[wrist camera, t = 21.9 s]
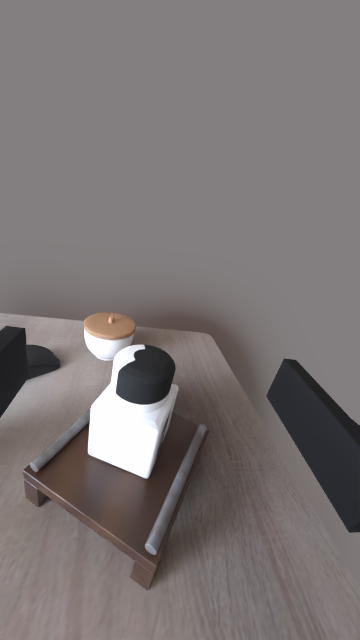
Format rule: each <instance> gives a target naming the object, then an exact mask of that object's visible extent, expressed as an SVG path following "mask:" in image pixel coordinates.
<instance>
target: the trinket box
mask: <svg viewBox="0 0 360 640" xmlns="http://www.w3.org/2000/svg"><path fill="white" fill-rule="evenodd" d="M135 328H136V325H135V323H134V321H133V320H132V319H130V318H129V317H126V316H124V315H121V314H117V313H109V312H108V313H96V314H93V315H90V316H89V317H87V318H86V319H85V321H84V336H85V342H86V345H87V347H88V349H89V350H90V351H91V352H92V353H93V354H94V355H95V356H96V357H97V358H99V359H101V360H106V361H110V360H114V358H115V356H116V355H117V353H118V352H120V351H121V350H122V349H124V348H126V347H128V346H131V344H132V341H133V337H134V332H135Z"/></svg>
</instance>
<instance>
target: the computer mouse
mask: <svg viewBox="0 0 360 640" xmlns="http://www.w3.org/2000/svg"><path fill="white" fill-rule="evenodd" d="M26 346H27V359H28V372H29V377H28V379H31V378H34V377H37V376H39V375H42V374H45V373H48V372H51V371H54V370H57V369H58V368H59V367H60V361H59V359H58V358H57V357H56V356H55V355H54V354H53V353H52V352H51V351H50V350H49V349H47V348H44V347H42V346H37V345H26ZM28 379H27V380H28Z"/></svg>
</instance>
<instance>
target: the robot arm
mask: <svg viewBox="0 0 360 640" xmlns="http://www.w3.org/2000/svg"><path fill="white" fill-rule="evenodd" d="M28 377H29V372H28V359H27V346H26V333H25V328H18V327H10V326H6V327H4V328H3V329H2V330H1V331H0V417H1V416H2V414H3V413H4V412H5V410H6V409H7V407H8V406H9V404H10V403H11V402H12V400H13V399H14V397H15V396H16V394H17V393H18V391H19V390H20V389H21V387H22V386H23V384H24V383H25V381H26V380H27V379H28ZM266 396H267V398H268V400H269V401H270V403H271V404H272V406H273V408H274V409H275V411H276V413H277V414H278V416H279V417H280V419H281V421H282V423H283V424H284V426H285V427H286V429H287V431H288V433H289V434H290V436H291V437H292V439H293V441H294V442H295V444H296V446H297V447H298V449H299V451H300V452H301V454H302V456H303V457H304V459H305V461H306V462H307V464H308V465H309V467H310V468H311V470H312V472H313V474H314V475H315V477H316V479H317V480H318V482H319V483H320V485H321V487H322V489H323V490H324V492H325V493H326V495H327V497H328V498H329V500H330V502H331V503H332V505H333V506H334V508H335V510H336V511H337V513H338V515H339V517H340V518H341V520H342V522H343V523H344V525H345V526H346V528H347V530H348V531H349V532H350V533H352V532H360V425H358V424H357V423H356V422H354V421H353V420H352V419H351V418H350V417H348V415H347V414H346V413H345V412H344V411H343V410H342V409H341V408H340V407H339V405H338V404H337V403H336V402H335V401H334V400H333V399H332V398H331V397H330V396H329V395H328V394H327V393H326V392H325V391H324V389H323V388H321V386H320V385H319V384H318V383H317V382H316V381H315V380H314V379H313V378H312V377H311V376H310V374H309V373H308V372H307V371H306V370H305V369H304V368H303V367H302V366H301V365H300V364H299V363H298V362H297V361H296V360H291V359H284V360H283V362H282V364H281V366H280V368H279V370H278V372H277V374H276V377H275V379H274V381H273V383H272V385H271V387H270V389H269V391H268V393H267V395H266Z"/></svg>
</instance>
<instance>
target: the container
mask: <svg viewBox="0 0 360 640" xmlns="http://www.w3.org/2000/svg"><path fill="white" fill-rule="evenodd" d="M174 373H175V363H174V361H173V359H172V358H171V357H170V355H169V354H168V353H166V352H165V351H163V350H162V349H159V348H157V347H154V346H150V345H132V346H128V347H126V348H124V349H122V350H121V351H120V352H118V353H117V355H116V356H115V358H114V363H113V372H112V381H111V383H110V385H109V386H108V387H107V388H106V389H105V390H104V392H103V393H102V394H101V395H100V396H99V397H98V399H97V400H96V401H95V402H94V403H93V404H92V406H91V413H90V427H89V442H88V454H89V455H91V456H94V457H96V458H98V459H101V460H103V461H105V462H108V463H110V464H112V465H115V466H117V467H120V468H122V469H124V470H127V471H129V472H131V473H134V474H136V475H138V476H141V477H143V478H149V476H150V474H151V471H152V469H153V466H154V464H155V461H156V458H157V456H158V453H159V451H160V448H161V445H162V443H163V440H164V438H165V435H166V432H167V430H168V427H169V423H170V420H171V416H172V412H173V408H174V405H175V401H176V397H177V394H178V390H179V387H178V386H177V385H175V384H172V381H173V377H174Z"/></svg>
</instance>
